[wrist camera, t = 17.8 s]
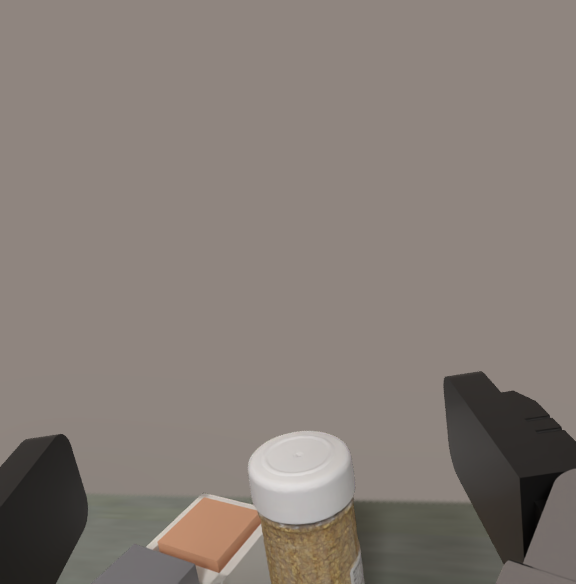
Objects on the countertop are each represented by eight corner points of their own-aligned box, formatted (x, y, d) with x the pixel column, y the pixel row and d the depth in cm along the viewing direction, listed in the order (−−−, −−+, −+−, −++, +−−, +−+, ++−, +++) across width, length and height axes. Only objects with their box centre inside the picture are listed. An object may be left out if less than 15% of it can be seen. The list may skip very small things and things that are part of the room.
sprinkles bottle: (279, 736, 25) (230, 483, 22) (300, 648, 29) (262, 426, 26) (378, 750, 24) (342, 485, 20) (385, 657, 28) (356, 425, 25)
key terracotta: (264, 537, 35) (260, 511, 34) (222, 590, 31) (216, 561, 30) (209, 522, 37) (204, 497, 37) (163, 569, 33) (157, 541, 33)
